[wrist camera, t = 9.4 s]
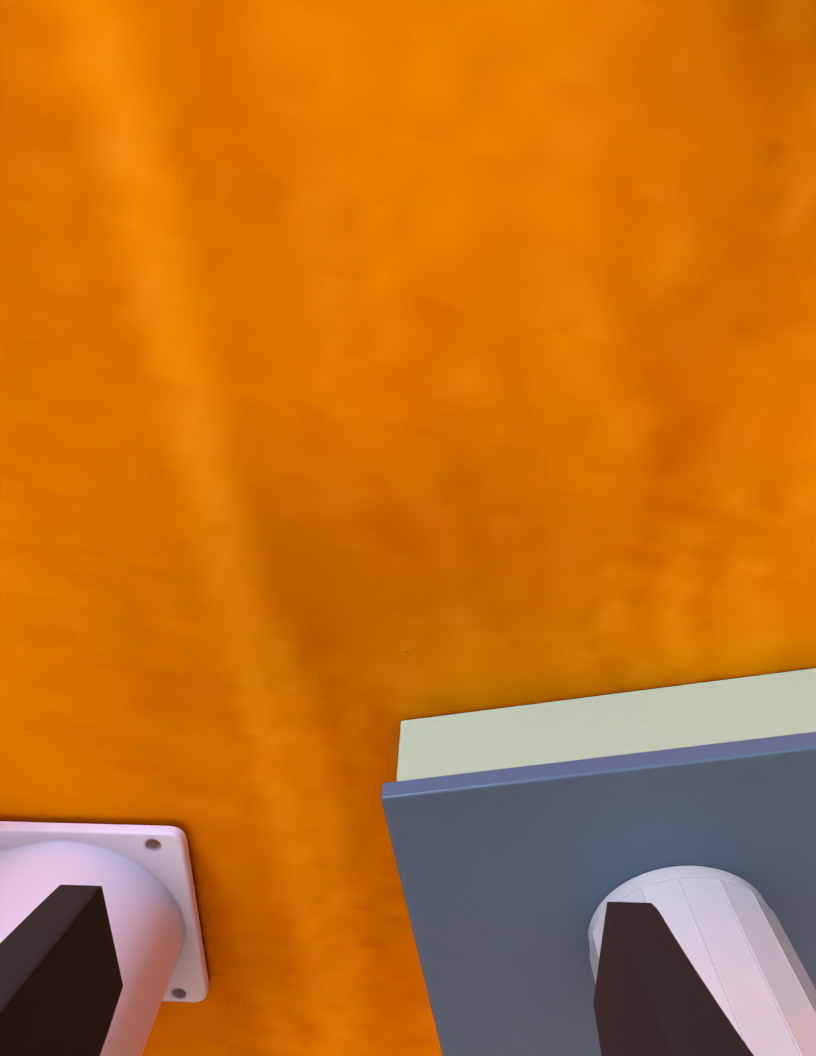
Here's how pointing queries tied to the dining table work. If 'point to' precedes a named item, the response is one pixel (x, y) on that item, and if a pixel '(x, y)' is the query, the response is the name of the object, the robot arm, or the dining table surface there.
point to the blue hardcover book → (590, 838)
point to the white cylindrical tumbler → (729, 953)
